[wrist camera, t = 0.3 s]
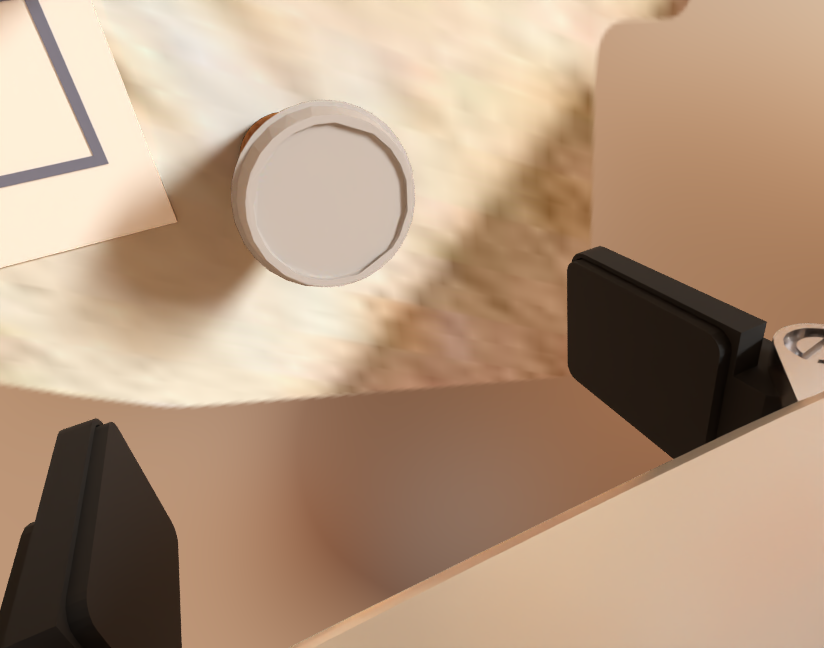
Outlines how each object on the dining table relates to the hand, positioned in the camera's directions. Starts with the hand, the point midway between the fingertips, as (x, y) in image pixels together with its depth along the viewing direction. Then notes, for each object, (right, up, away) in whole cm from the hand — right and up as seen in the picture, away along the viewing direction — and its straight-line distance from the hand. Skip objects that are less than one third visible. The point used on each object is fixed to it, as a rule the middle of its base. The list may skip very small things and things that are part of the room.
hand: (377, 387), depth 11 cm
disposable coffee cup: (-8, +12, +26) cm, 30 cm away
